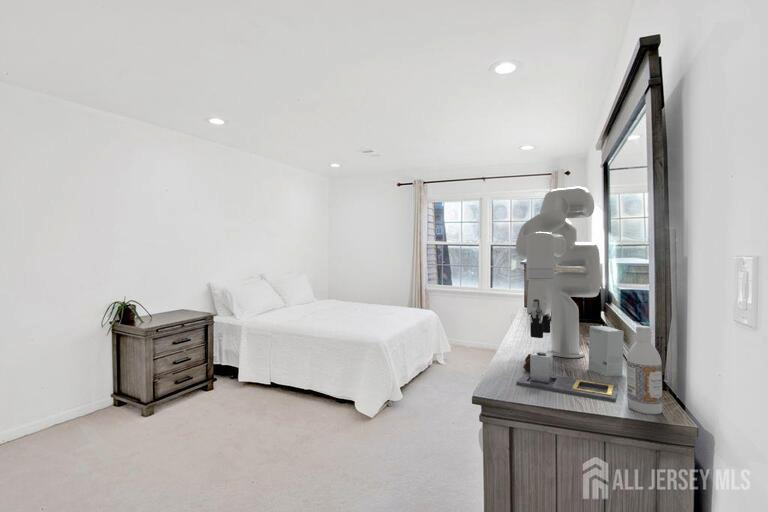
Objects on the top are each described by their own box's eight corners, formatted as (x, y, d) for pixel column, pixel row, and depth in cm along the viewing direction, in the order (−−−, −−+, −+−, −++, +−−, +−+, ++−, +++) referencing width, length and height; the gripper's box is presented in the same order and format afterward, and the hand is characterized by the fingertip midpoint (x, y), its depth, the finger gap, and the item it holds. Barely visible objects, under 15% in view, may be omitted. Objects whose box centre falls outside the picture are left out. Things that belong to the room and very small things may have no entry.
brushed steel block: (534, 378, 114) (534, 350, 114) (552, 381, 111) (552, 352, 111) (530, 383, 110) (530, 354, 110) (549, 386, 107) (548, 356, 107)
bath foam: (645, 416, 88) (644, 329, 89) (620, 405, 95) (619, 324, 95) (669, 413, 90) (668, 328, 90) (643, 403, 97) (642, 323, 97)
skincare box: (587, 372, 123) (587, 325, 123) (604, 371, 124) (603, 325, 124) (607, 380, 115) (606, 330, 115) (625, 379, 116) (624, 329, 116)
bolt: (534, 369, 134) (536, 380, 119) (521, 361, 135) (521, 371, 121) (543, 355, 133) (545, 365, 119) (530, 347, 134) (530, 355, 120)
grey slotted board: (527, 377, 119) (527, 370, 119) (618, 391, 105) (618, 384, 105) (516, 388, 109) (516, 381, 109) (615, 405, 95) (615, 397, 95)
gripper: (533, 274, 120) (534, 329, 119) (518, 275, 106) (519, 338, 105) (559, 275, 116) (560, 332, 115) (547, 276, 101) (548, 341, 101)
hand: (540, 334), depth 110 cm, fingers open, 9 cm apart
